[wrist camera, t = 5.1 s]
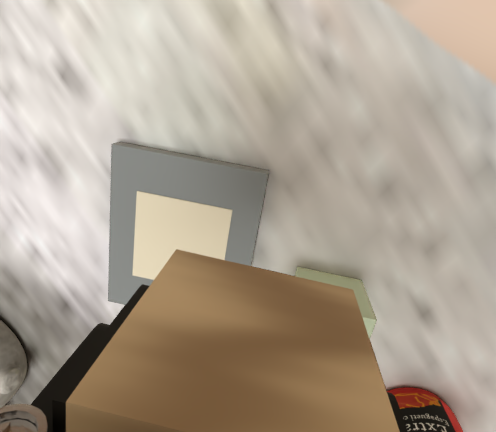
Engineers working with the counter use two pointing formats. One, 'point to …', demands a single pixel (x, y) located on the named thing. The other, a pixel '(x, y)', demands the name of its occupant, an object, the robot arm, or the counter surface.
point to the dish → (10, 364)
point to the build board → (177, 212)
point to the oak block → (235, 358)
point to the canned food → (425, 411)
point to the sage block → (346, 283)
